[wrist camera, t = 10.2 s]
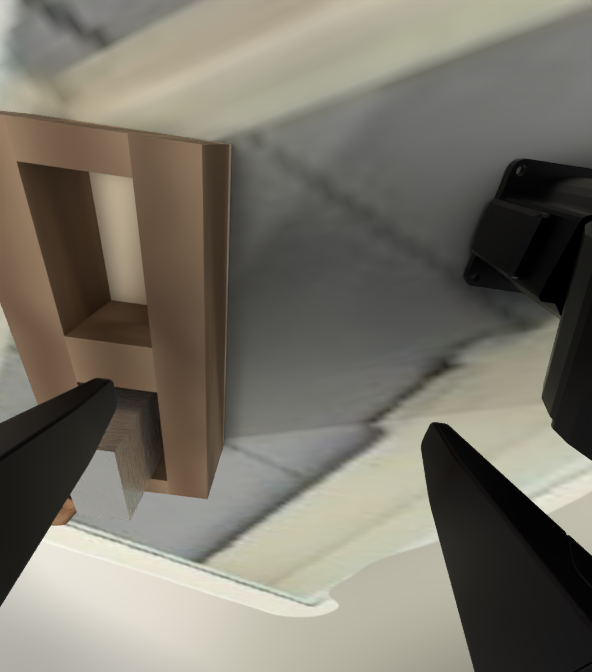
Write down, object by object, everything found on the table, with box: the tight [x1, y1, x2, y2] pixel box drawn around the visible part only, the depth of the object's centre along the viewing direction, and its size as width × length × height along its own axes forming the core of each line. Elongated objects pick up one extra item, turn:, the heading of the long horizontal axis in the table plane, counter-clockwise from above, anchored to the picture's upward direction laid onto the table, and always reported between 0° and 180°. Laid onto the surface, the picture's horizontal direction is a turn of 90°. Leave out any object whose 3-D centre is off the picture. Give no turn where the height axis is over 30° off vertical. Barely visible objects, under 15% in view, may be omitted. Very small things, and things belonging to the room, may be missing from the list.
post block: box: [0, 111, 232, 499], centre depth 20 cm, size 10×22×5 cm, turn 172°
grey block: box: [70, 387, 164, 521], centre depth 21 cm, size 3×6×8 cm, turn 172°
